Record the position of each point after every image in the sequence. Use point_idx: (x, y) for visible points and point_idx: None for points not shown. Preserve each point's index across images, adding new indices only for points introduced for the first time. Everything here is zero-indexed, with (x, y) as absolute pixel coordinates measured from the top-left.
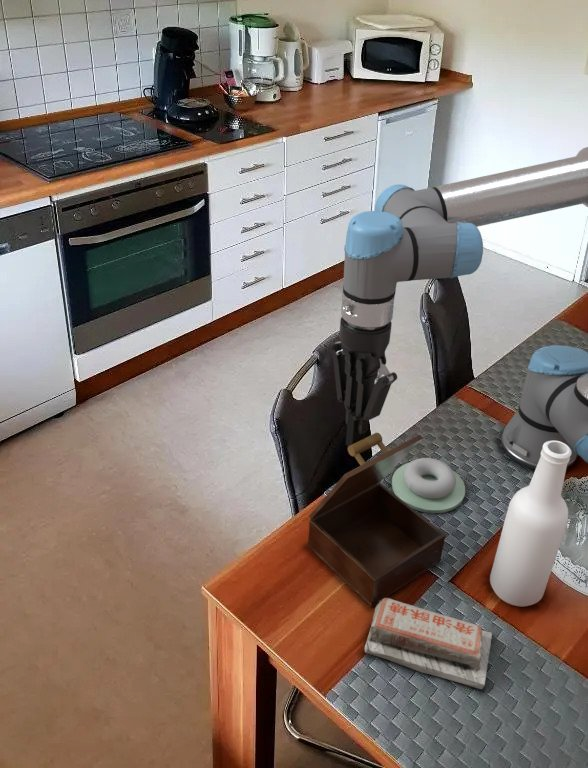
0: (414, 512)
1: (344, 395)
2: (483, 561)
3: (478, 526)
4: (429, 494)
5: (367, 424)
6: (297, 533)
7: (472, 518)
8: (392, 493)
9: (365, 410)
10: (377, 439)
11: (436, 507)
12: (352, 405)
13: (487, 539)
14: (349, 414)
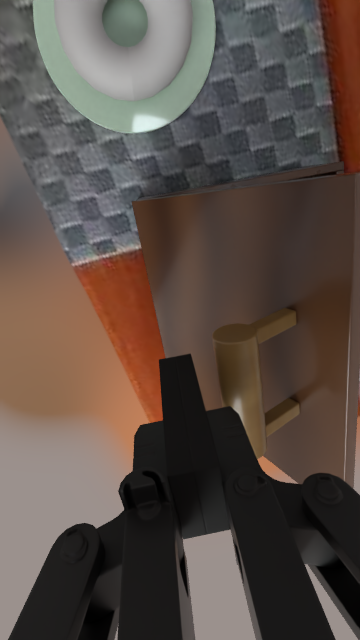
0: (257, 184)
1: (102, 609)
2: (351, 81)
3: (281, 9)
4: (178, 70)
5: (246, 437)
6: (136, 349)
7: (256, 2)
8: (184, 193)
9: (339, 609)
10: (258, 357)
11: (199, 71)
12: (179, 557)
13: (318, 21)
14: (192, 531)
